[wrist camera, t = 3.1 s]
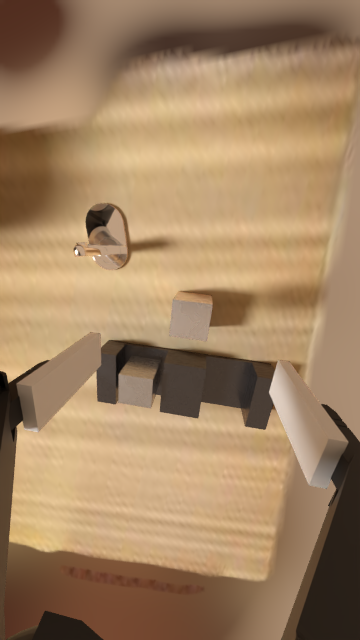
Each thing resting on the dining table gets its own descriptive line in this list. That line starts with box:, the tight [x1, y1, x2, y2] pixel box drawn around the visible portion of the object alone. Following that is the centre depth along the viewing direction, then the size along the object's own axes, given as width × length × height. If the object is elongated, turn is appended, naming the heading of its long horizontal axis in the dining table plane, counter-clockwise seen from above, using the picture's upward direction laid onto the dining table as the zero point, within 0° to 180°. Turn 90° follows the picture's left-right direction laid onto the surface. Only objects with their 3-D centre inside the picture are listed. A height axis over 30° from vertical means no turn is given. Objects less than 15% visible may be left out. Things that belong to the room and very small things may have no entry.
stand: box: [73, 203, 128, 270], centre depth 24 cm, size 8×5×8 cm
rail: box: [97, 340, 275, 430], centre depth 30 cm, size 8×24×4 cm, turn 84°
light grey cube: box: [118, 356, 161, 408], centre depth 30 cm, size 4×4×5 cm
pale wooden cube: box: [169, 291, 213, 341], centre depth 27 cm, size 4×4×5 cm
